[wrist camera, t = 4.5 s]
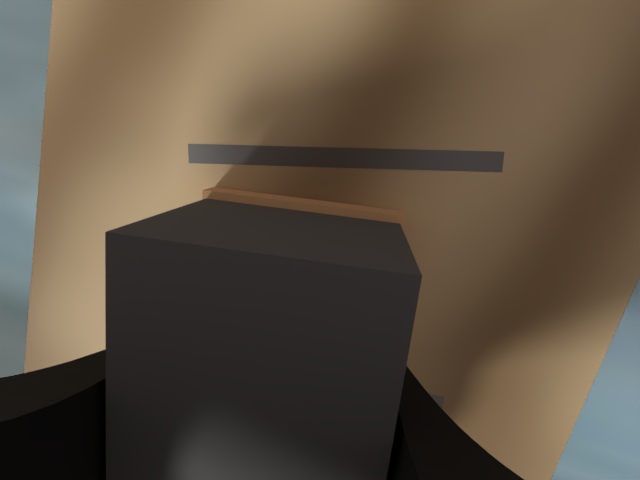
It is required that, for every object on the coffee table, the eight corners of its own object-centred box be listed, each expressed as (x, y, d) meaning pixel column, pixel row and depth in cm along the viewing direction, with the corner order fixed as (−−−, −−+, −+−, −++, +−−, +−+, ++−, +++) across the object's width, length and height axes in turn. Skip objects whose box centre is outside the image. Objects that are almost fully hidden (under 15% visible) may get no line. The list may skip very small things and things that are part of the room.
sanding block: (403, 211, 11) (431, 263, 6) (356, 501, 13) (349, 714, 8) (214, 186, 11) (99, 218, 6) (197, 472, 13) (101, 658, 9)
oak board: (790, -159, 9) (849, -202, 8) (459, 630, 15) (467, 671, 14) (111, -291, 10) (79, -347, 9) (37, 503, 16) (11, 531, 15)
